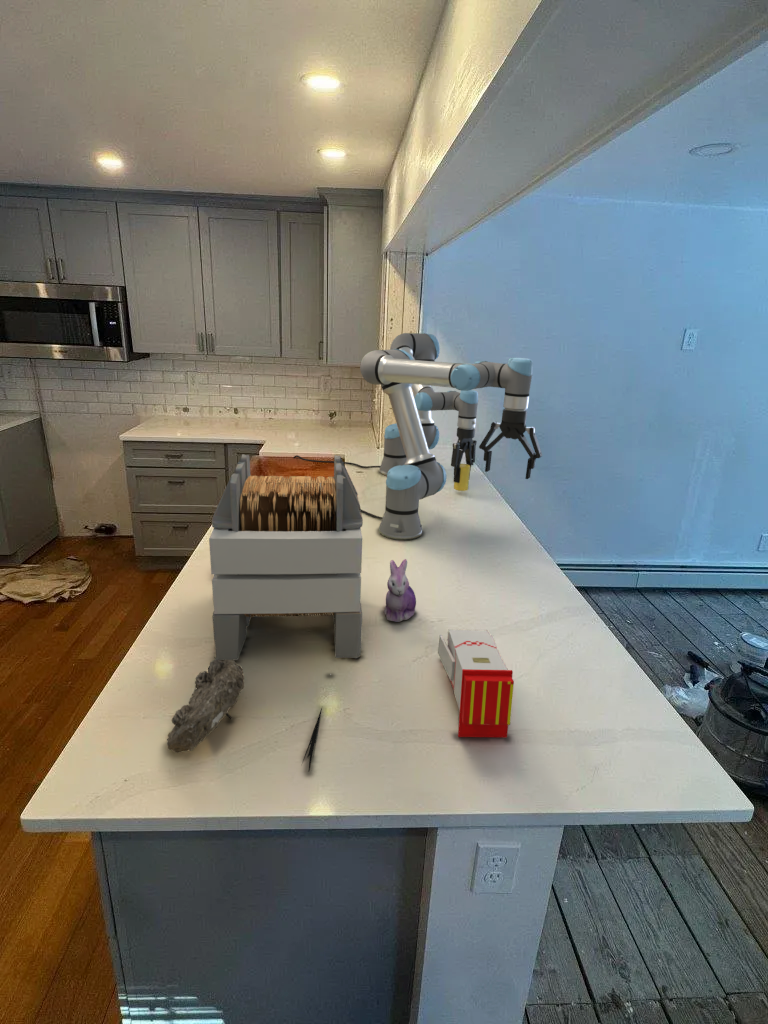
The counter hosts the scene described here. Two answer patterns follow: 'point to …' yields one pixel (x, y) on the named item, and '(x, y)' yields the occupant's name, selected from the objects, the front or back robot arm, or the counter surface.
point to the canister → (463, 478)
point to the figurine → (399, 594)
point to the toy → (478, 682)
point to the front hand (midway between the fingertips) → (507, 474)
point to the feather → (313, 740)
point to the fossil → (206, 705)
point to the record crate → (286, 555)
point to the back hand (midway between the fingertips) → (461, 480)
